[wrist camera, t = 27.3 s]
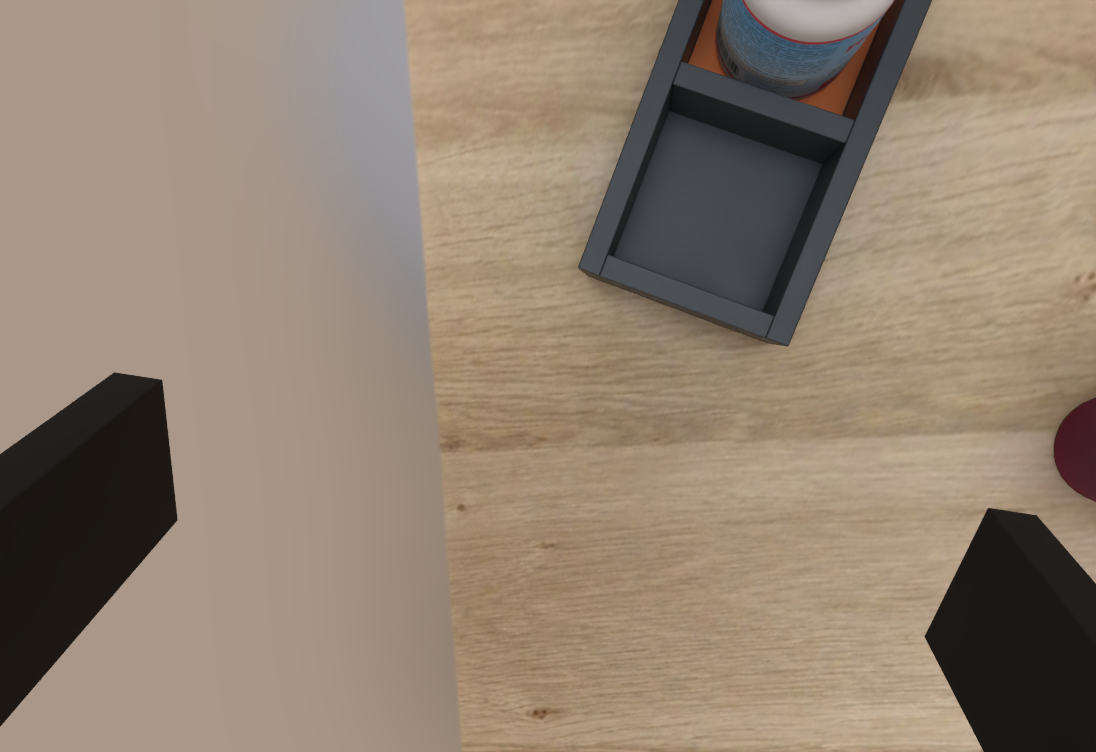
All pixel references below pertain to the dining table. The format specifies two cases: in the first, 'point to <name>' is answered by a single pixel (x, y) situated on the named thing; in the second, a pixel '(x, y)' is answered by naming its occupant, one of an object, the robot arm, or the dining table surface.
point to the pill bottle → (793, 41)
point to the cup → (1078, 449)
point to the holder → (740, 177)
